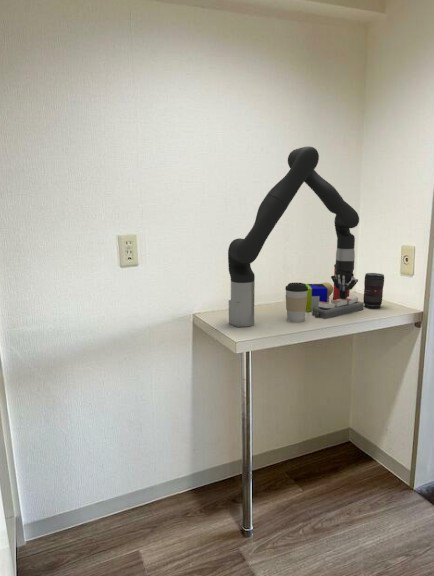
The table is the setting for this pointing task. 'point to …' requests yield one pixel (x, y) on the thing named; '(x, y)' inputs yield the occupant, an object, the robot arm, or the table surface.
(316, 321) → the table surface
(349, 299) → the rocker
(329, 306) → the rocker
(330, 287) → the beige rounded piece
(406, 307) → the table surface
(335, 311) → the power strip
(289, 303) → the coffee cup
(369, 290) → the camera lens
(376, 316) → the table surface
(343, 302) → the rocker
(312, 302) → the puzzle toy
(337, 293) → the speaker
